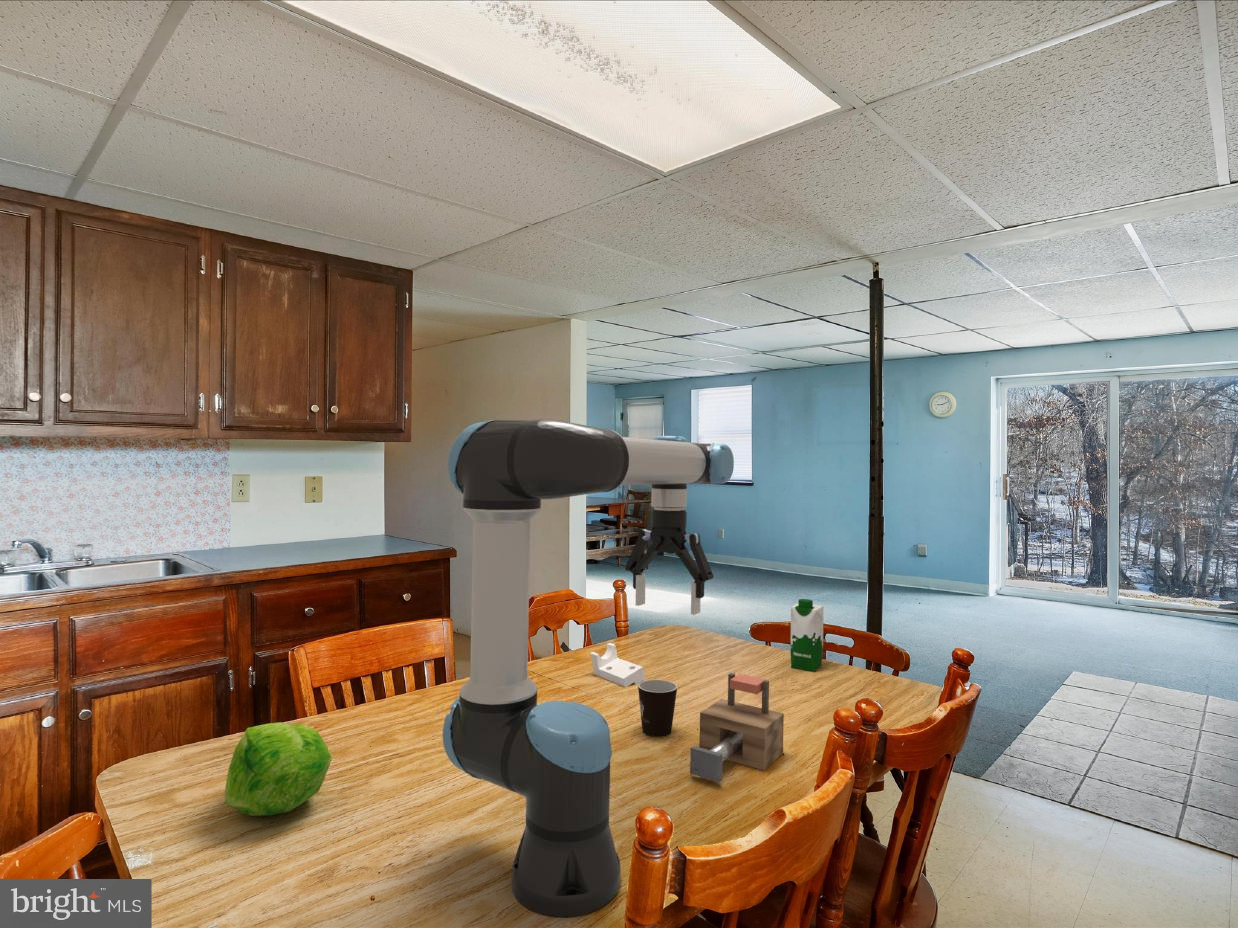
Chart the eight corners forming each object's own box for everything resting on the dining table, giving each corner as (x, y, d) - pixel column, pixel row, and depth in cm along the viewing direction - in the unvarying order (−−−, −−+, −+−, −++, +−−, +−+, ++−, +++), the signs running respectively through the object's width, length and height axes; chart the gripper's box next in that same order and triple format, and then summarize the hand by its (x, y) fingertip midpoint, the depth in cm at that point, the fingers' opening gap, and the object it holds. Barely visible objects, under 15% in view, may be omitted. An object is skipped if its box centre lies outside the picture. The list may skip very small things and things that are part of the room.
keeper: (757, 694, 135) (757, 685, 135) (729, 688, 138) (730, 679, 138) (766, 687, 139) (766, 679, 139) (739, 682, 142) (740, 673, 142)
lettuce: (296, 773, 124) (319, 702, 124) (322, 838, 108) (349, 757, 108) (207, 775, 115) (233, 699, 115) (222, 846, 99) (252, 758, 99)
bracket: (595, 678, 185) (590, 653, 184) (614, 667, 189) (609, 642, 188) (625, 690, 175) (620, 664, 174) (645, 678, 179) (640, 653, 178)
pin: (719, 782, 121) (719, 756, 121) (690, 773, 124) (690, 747, 124) (752, 753, 133) (753, 729, 133) (725, 746, 137) (725, 722, 137)
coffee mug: (673, 741, 141) (674, 693, 141) (634, 736, 143) (634, 690, 143) (680, 720, 152) (680, 677, 152) (642, 717, 154) (643, 673, 154)
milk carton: (787, 668, 194) (788, 599, 194) (796, 660, 202) (797, 594, 202) (817, 673, 189) (818, 603, 189) (825, 665, 197) (826, 598, 197)
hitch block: (763, 770, 128) (765, 695, 128) (699, 751, 136) (700, 680, 136) (783, 752, 136) (784, 681, 136) (720, 735, 144) (722, 668, 144)
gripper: (730, 511, 137) (728, 614, 137) (630, 505, 151) (628, 598, 151) (714, 512, 131) (712, 620, 131) (610, 506, 145) (609, 603, 145)
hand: (667, 609), depth 141 cm, fingers open, 13 cm apart
